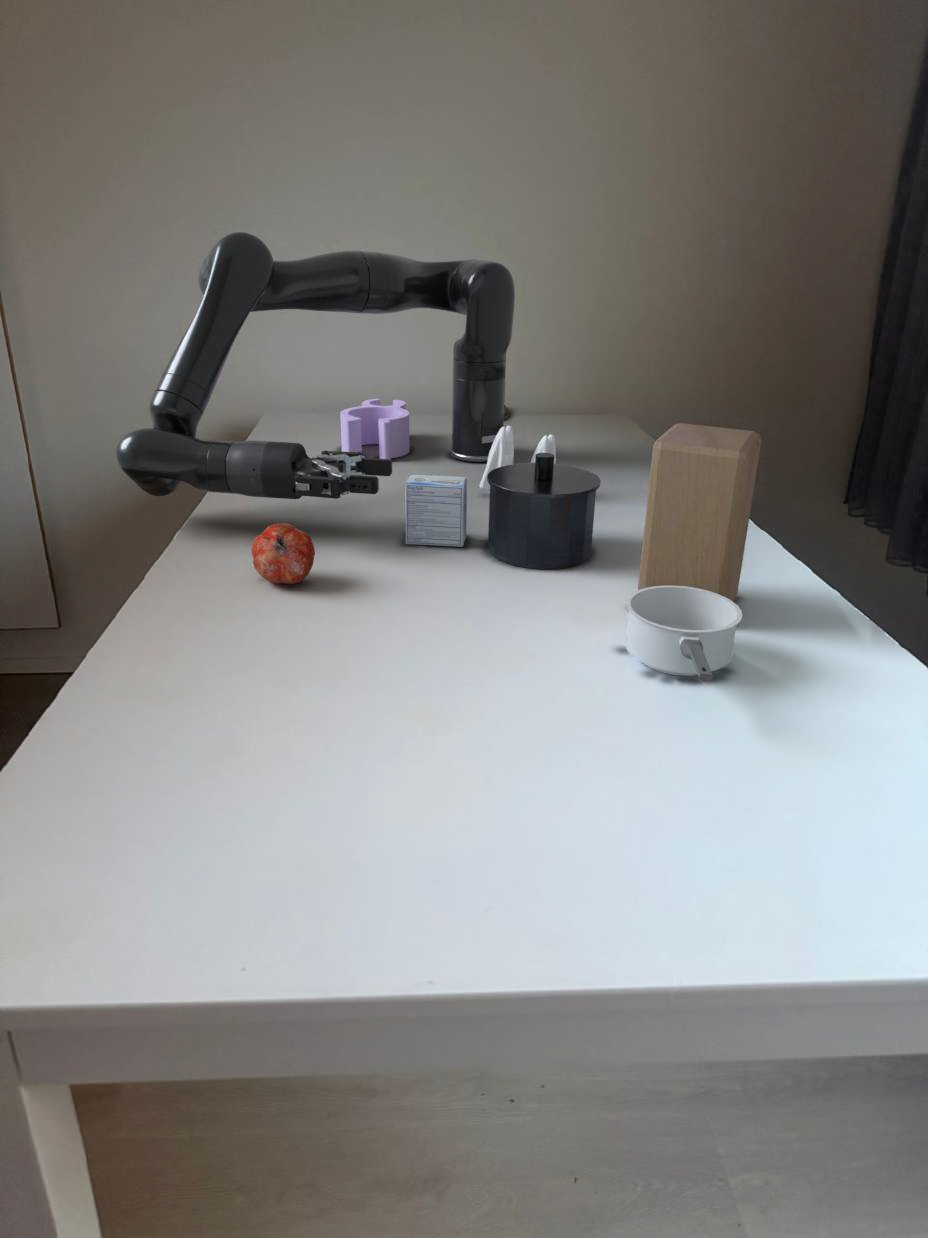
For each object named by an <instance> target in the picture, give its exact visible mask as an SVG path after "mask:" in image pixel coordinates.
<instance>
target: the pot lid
mask: <svg viewBox="0 0 928 1238" xmlns="http://www.w3.org/2000/svg"><path fill="white" fill-rule="evenodd" d="M487 481H488V483H489V485H491V486H492V487H494V488H495V489H498V490H500V491H503V492H506V493H510V494H514V495H519V496H525V497H535V498H568V497H576V496H582V495H586V494H589V493H592V492H594V491H596V492H597V491H598V489H600V487H601V478H600V477H599V476H598V475H597V474H595V473H594V472H592V471H589V470H587V469H584V468H581V467H577V466H574V465H573V466H572V465H567V464H566V465H565V464H561V463H556V464H554V455H553V454H551V453H537V454H536V456H535V463H531V462H523V463H513V465H507V466H502V467H499V468H496V469H494V470H492V471H490V472H489V473H488V475H487Z"/></svg>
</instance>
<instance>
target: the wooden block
mask: <svg viewBox="0 0 928 1238" xmlns="http://www.w3.org/2000/svg"><path fill="white" fill-rule="evenodd" d="M761 438H762V437H761V435H760V434H759V433H758V432H756V431H755V430H748V429H747V430H745V429H736V428H727V427H720V426H710V425H701V424H692V423H685V422H684V423H683V422H680V423H676V424H673V425H672V426H671V427H670V428H669V429H668V430H666V431H665V432H664V433H663V434H661V435H660V436H659V437H658V438H657V439H656V440H655V442H654V444H653V446H652V453H651V454H652V455H651V462H650V463H651V464H650V473H649V481H648V492H647V500H646V510H645V520H644V528H643V539H642V545H641V555H640V556H641V557H640V565H639V575H638V582H637V583H638V585H637V591H638V590H640V589H644V588H648V587H654V586H686V587H693V588H699V589H703V590H707V591H710V592H713V593H717V594H719V595H721V596H724V597H726V598H728V599H729V600H731V601H733V602H734V601H735V599H736V597H737V595H738V592H739V587H740V580H741V573H742V566H743V561H744V555H745V547H746V542H747V535H748V529H749V522H750V518H751V517H750V516H751V511H752V504H753V498H754V490H755V485H756V478H757V473H758V466H759V465H758V464H759V459H760V454H761V453H760V452H761V447H762V439H761Z"/></svg>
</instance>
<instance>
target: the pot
mask: <svg viewBox="0 0 928 1238" xmlns="http://www.w3.org/2000/svg"><path fill="white" fill-rule="evenodd" d="M596 493H597V490H596V491H594V492H592V493H589V494H586V495H582V496H576V497H568V498H535V497H525V496H519V495H514V494H510V493H506V492H503V491H500V490H498V489H495V488H494V487H492V486H491V485H490V494H489V502H488V503H489V505H488V506H489V507H488V533H487V535H488V536H487V548H488V552H489V554H490V555H491V556H492V557H493V558H495V559H496V560H498V561H500V562H502V563H505V564H508V565H511V566H515V567H519V568H526V569H532V570H533V569H534V570H557V569H559V570H560V569H565V568H571V567H575V566H578V565H580V564H583V563H585V562H586V561H587V560H589V558H590V557H591V554H592V546H593V534H594V533H593V532H594V520H595V510H596V508H595V507H596V498H597V496H596V495H597V494H596Z"/></svg>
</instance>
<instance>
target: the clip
mask: <svg viewBox="0 0 928 1238" xmlns="http://www.w3.org/2000/svg"><path fill="white" fill-rule="evenodd" d="M339 414H340V415H339V416H340V437H341V438H340V440H341V442H340V443H341V444H340V445H341V452H362V453H363V447H362V446H363V445H364V446H366V445H378V459H389V460H391V461H392V459H396V458H399V457H400V458H401V457H404V456H406V455H407V454H409V453H410V411H408V410H407V403H406V401H404V400H403V399H393V400H392V404H391V405H382V404H381V398H370V399H366V400H363V401H362V402H361V405H359V406H353V407H348V408H344V409H342V410H341V411H340V413H339Z"/></svg>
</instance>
